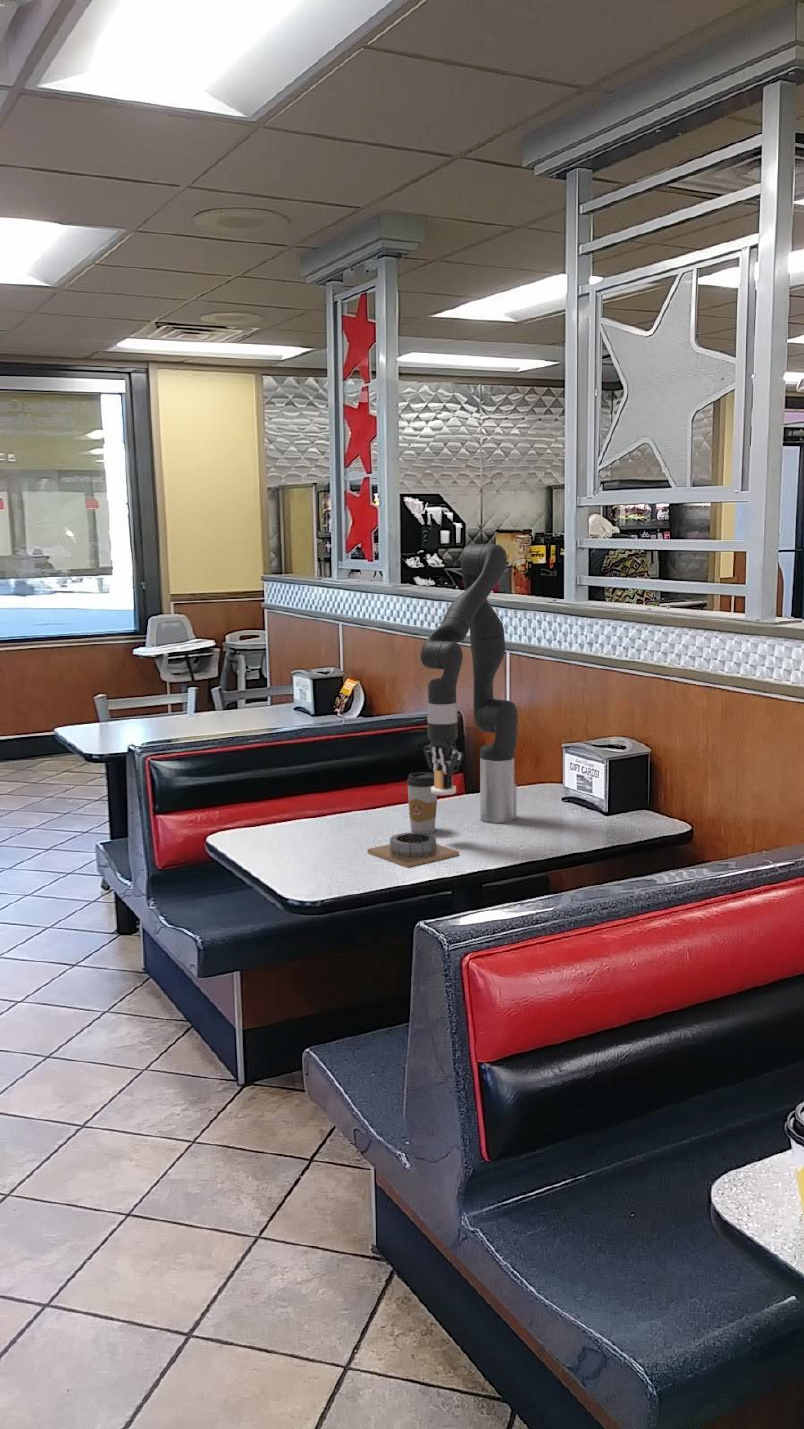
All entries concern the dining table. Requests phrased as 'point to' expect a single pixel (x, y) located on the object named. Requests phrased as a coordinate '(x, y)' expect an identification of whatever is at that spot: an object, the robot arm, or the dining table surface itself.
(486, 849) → the dining table surface
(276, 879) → the dining table surface
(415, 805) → the coffee cup
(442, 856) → the board with grey ring
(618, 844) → the dining table surface
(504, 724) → the robot arm
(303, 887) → the dining table surface
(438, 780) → the cap
